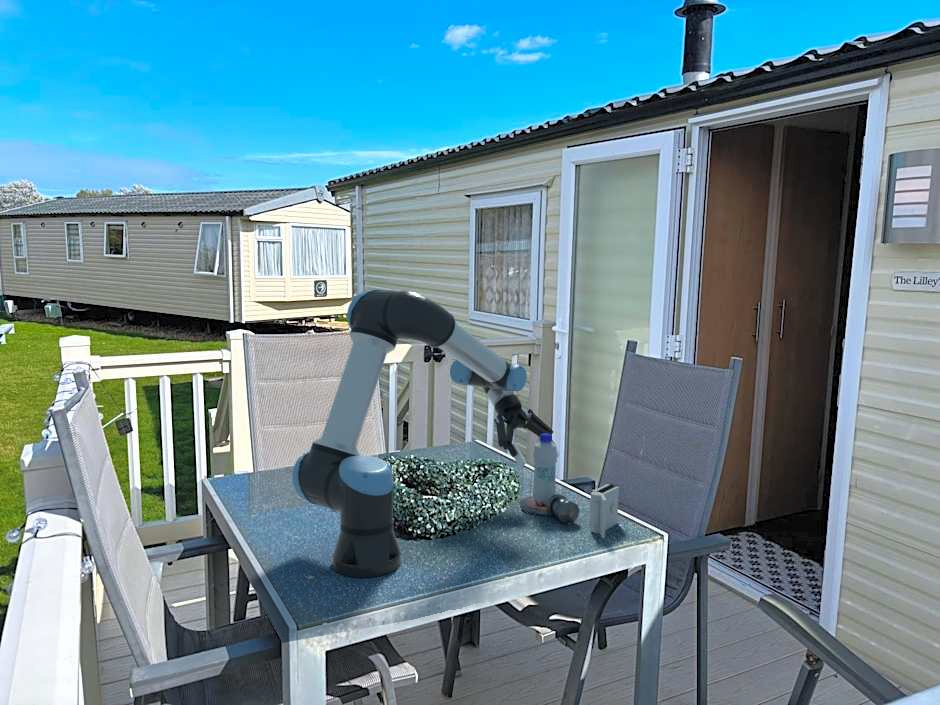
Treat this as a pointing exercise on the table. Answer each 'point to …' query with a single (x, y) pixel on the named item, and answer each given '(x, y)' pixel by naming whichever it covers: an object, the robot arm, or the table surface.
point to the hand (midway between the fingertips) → (540, 461)
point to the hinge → (604, 508)
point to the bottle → (544, 469)
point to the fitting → (552, 508)
